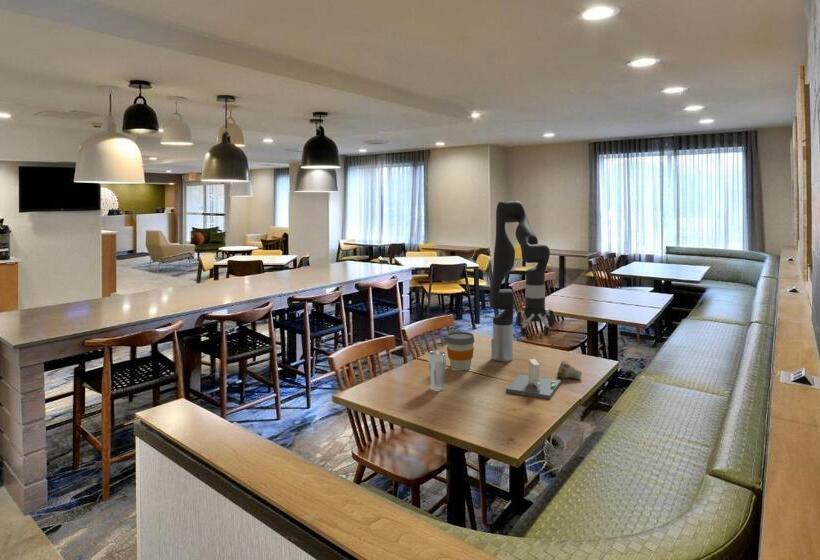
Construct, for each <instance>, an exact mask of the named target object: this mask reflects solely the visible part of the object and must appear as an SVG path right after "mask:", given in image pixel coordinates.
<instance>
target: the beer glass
mask: <svg viewBox="0 0 820 560" xmlns="http://www.w3.org/2000/svg"><path fill="white" fill-rule="evenodd" d="M427 359H428V361H427V363H428V366H427V367H428V372H429V376H430V377H429V378H430V384H429V385H430V386H429V389H430V388H431V389H433V390H443V389H444V388H445V389H446V386H445V373H446V364H447V360H446V352H445V351H443V350H431V351H429V352H428V358H427ZM445 389H444V390H445ZM444 390H443V391H444Z"/></svg>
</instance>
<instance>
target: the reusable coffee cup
mask: <svg viewBox="0 0 820 560" xmlns="http://www.w3.org/2000/svg"><path fill="white" fill-rule="evenodd" d="M445 342H446V343H447V347H446V351H447V357H448V360H449V365H450V369H451V368H452V369H451V370H453V369H455V370H454V371H456V370H465V371H468V370H467V369H469V368H470V367H471V366H472V358H473V357H474V349H475V347H474V343H475V336H474V334H473V333H472V332H465V331H455V332H454V331H453V332H450V333H447V334H446V339H445ZM470 369H471V368H470ZM470 369H469V370H470Z"/></svg>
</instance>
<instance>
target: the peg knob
mask: <svg viewBox="0 0 820 560" xmlns="http://www.w3.org/2000/svg"><path fill="white" fill-rule="evenodd" d="M540 368H541V367H540V363H539V362H538V361H537V359H535V358H533V359H532V358H531V359H529V358H528V375H527V376H528V384H529V385H533V386H537V387H540V377H541V376H540V371H541V370H540Z"/></svg>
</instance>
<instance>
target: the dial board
mask: <svg viewBox="0 0 820 560" xmlns="http://www.w3.org/2000/svg"><path fill="white" fill-rule="evenodd" d="M528 376H529V375H526V374H519V375H518V376H517V377H516V378H515V379H514V380H513V381H512V382H511V383H510V384H508V386H507V387H505V393H508V392H510V393H509V394H514V393H516V394H515V395H520V394H523V395H522V396H526V395H529V396H528V397H532V396H535V397H534V398H539V397H542V398H541V399H545V398H547V399H546V400H550V399H551V398H552V397H553V395H554V394H555V393H556V392H557V390H558V389H559V387H560V386H561V384H562V383H561V380H560V379H555V378H549V377H547V378H546V377H541V376H540V387H537V386H533V385H529V384H528ZM554 392H555V393H554Z"/></svg>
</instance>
